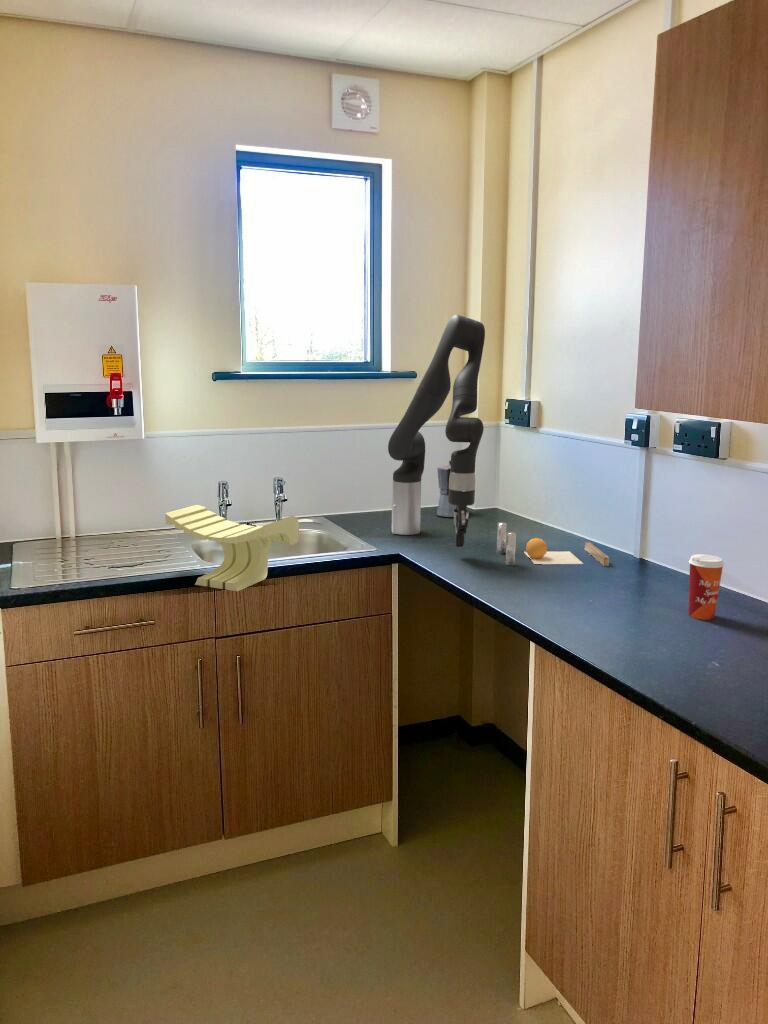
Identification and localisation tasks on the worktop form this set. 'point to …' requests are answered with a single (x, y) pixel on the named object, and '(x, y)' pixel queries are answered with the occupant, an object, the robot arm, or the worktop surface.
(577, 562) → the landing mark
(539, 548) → the ball
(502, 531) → the post
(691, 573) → the paper cup
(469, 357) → the robot arm
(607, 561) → the wooden stick
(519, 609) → the worktop surface
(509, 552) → the post
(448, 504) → the moka pot
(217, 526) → the slatted curved stool
